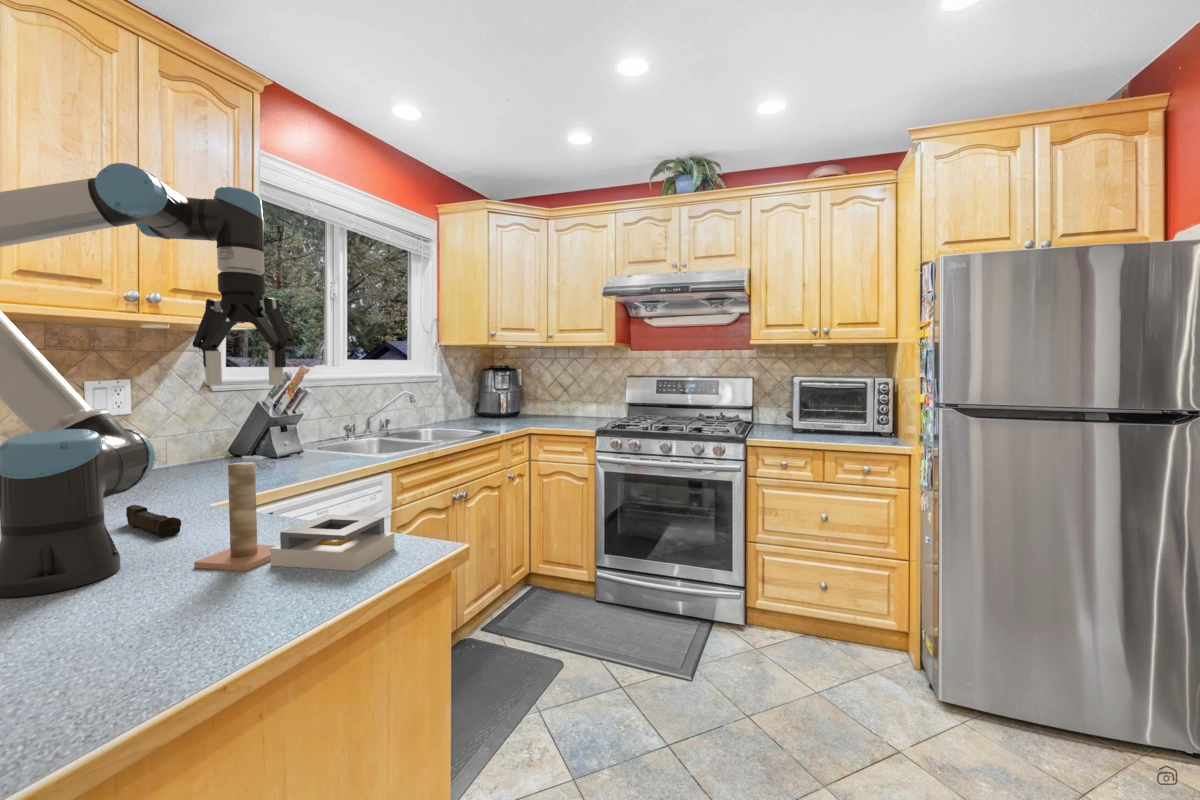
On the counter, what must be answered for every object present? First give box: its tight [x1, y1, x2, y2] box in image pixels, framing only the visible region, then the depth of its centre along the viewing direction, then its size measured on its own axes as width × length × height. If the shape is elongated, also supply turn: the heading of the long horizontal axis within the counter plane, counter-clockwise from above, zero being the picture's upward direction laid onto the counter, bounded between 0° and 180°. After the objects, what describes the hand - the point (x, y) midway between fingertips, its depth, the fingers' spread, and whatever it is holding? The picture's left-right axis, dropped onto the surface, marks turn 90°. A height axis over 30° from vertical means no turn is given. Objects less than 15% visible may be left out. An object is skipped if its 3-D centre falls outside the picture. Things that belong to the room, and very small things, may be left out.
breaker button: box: [320, 538, 350, 546], centre depth 98 cm, size 5×5×3 cm
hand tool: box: [125, 504, 182, 539], centre depth 115 cm, size 19×4×5 cm, turn 58°
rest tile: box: [193, 544, 276, 572], centre depth 96 cm, size 10×10×1 cm
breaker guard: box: [270, 513, 395, 572], centre depth 98 cm, size 16×12×6 cm
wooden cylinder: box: [227, 461, 258, 558], centre depth 96 cm, size 4×4×16 cm
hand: (244, 385), depth 105 cm, fingers open, 13 cm apart
